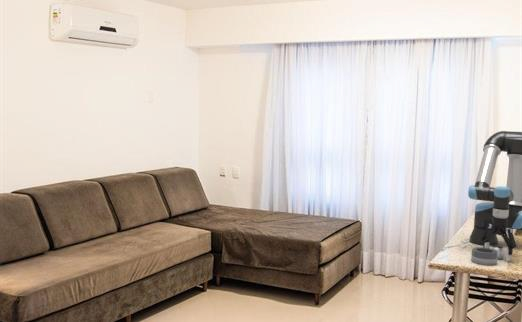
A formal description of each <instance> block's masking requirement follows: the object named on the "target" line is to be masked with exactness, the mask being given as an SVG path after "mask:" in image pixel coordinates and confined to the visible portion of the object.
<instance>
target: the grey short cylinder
mask: <svg viewBox="0 0 522 322" xmlns="http://www.w3.org/2000/svg"><path fill="white" fill-rule="evenodd" d="M470 260H471V263H473V264H477V265H479V266H480V265H481V266H488V267H489V266H496V265H497V264H498V260H497V251H496V250H493V249H491V248H490V247H489V248H484V247H482V246H481V247H472V250H471V258H470Z"/></svg>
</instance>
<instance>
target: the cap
mask: <svg viewBox="0 0 522 322" xmlns="http://www.w3.org/2000/svg"><path fill="white" fill-rule="evenodd" d="M490 249H493V250H496V251H497V261H502V260H504V255H505V254H504V253H505V247H504V246H503V245H500V244H497V245H493V246H491V248H490Z"/></svg>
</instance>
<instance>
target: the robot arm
mask: <svg viewBox="0 0 522 322" xmlns="http://www.w3.org/2000/svg"><path fill="white" fill-rule="evenodd" d="M482 151H483V155H482V157H481V162H480V165H479V167H478V172H477V175H476V180H475V182H474V184H472V185H469V186H468V190H467V192H468V193H467V194H468V198H469V199H470V200H476V201H484V202H478V203H477V204H475V206H474V207H475V208H474V220H473V221H474V222H473V229H472V231H471V233H470V236H469V242H470V243H472V244H475V245H479V246H483V247H482V248H490V246H491V247H492V246H493V245H499V239H498V236H501V238H503V241H504V243H505V244H506V247H507V248H506V256H505V262H511V261H512V260H511V258H512V256H513V250H514V249H517V248H518V246H517V243H516V240H515V236H514V233H513V231H514V229H516V230H521V229H522V131H508V130H507V131H506V130H502V131H497V132H494V133H493V134H492V135H491V136H489V138H488V139H486V141H485V143H484V144H483V147H482ZM502 152H506V156H507V157H508V168H507V176H506V186H503V185H502V186H499V185H498V186H496V187H491V184H492V183H491V182H492V180H493V176H494V171H495V168H496V164H497V160H498V157H499V156H500V154H501V153H502ZM485 201H486V202H485Z"/></svg>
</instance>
